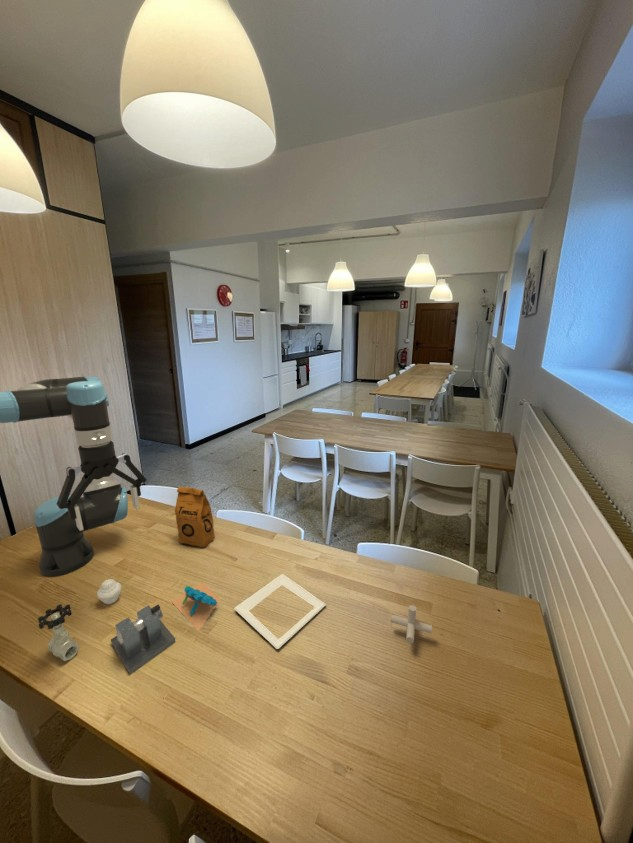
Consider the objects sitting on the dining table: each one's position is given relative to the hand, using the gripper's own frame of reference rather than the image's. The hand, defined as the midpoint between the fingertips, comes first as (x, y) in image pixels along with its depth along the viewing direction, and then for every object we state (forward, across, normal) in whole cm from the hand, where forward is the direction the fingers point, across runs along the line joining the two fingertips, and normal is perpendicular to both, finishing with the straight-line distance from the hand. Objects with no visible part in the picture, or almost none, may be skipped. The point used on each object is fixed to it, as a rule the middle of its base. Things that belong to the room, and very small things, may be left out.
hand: (109, 517), depth 89 cm
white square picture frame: (+29, +28, -36) cm, 54 cm away
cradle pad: (+29, +14, -17) cm, 36 cm away
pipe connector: (+29, +44, -68) cm, 86 cm away
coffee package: (+29, +30, +12) cm, 43 cm away
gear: (+30, +16, -17) cm, 38 cm away
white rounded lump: (+29, -2, +5) cm, 29 cm away
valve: (+29, -16, -5) cm, 33 cm away
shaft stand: (+29, -2, -17) cm, 33 cm away
